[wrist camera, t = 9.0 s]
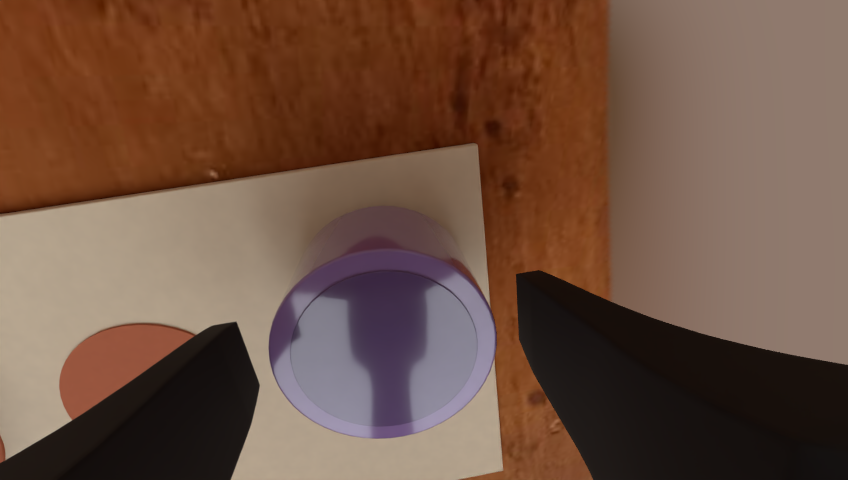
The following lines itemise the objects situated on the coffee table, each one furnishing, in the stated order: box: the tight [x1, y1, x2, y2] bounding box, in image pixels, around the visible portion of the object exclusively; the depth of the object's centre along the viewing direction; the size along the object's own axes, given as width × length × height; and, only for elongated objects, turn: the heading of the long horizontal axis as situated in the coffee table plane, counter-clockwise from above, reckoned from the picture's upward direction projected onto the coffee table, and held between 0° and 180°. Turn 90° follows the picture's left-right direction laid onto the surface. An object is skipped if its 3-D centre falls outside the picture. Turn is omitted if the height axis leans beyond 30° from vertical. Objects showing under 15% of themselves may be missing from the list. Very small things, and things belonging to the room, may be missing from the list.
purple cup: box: [268, 206, 497, 439], centre depth 11 cm, size 5×5×4 cm
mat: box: [0, 143, 503, 480], centre depth 14 cm, size 24×14×1 cm, turn 97°
